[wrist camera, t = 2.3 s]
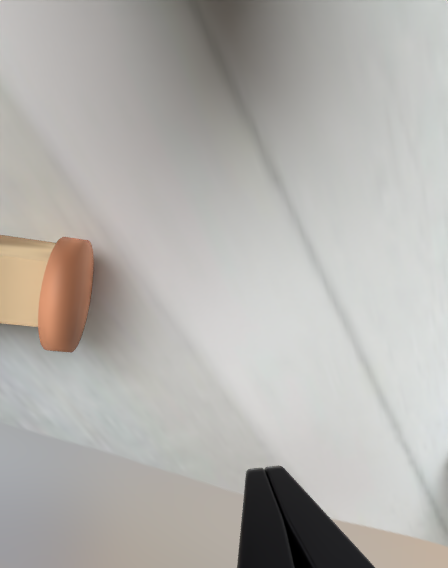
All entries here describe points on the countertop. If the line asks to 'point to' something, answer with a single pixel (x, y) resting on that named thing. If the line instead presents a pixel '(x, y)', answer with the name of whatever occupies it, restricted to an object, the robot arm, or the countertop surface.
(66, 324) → the lynch pin
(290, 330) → the countertop surface
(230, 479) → the countertop surface
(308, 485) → the countertop surface
